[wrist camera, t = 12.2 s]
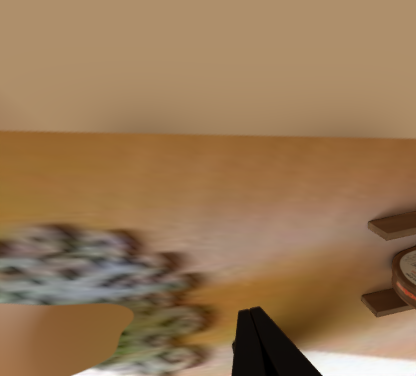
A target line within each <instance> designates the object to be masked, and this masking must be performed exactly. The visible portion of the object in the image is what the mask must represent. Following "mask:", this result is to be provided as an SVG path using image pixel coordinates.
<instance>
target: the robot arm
mask: <svg viewBox="0 0 416 376" xmlns="http://www.w3.org/2000/svg"><path fill="white" fill-rule="evenodd" d="M232 349H233V353H234V357H233V366H232V376H322V375H321V374H320V372H319V371H318V370H317V369H316V368H315V367H314V366H313V365H312V364H311V362H310V361H309V360H308V359H307V358H306V357H305V356H304V355H303V354H302V352H301V351H300V350H299V349H298V348H297V347H296V346H295V345H294V344H293V343H292V341H291V340H290V339H289V338H288V337H287V336H286V335H285V334H284V333H283V331H282V330H281V329H280V328H279V327H278V326H277V325H276V324H275V323H274V321H273V320H272V319H271V318H270V317H269V316H268V315H267V314H266V313H265V311H264V310H263V309H262V308H261V307H259V306H257V307H252V308H250V309H244V310H240V311H239V312H238V319H237V328H236V338H235V342H234V343H233V344H232Z"/></svg>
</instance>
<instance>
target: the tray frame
mask: <svg viewBox="0 0 416 376" xmlns="http://www.w3.org/2000/svg"><path fill="white" fill-rule="evenodd" d="M368 229H370V230H372V231H373V232H375V233H376V234H378V235H379V236H381V237H382V238H384V239H385V240H387V241H388V240H392V239H397V238H401V237H405V236H410V235H414V234H416V211H415V212H410V213H406V214H401V215H397V216H392V217H388V218H383V219H379V220H374V221H370V222H368ZM361 301H362V302H363V303H364V304H365V305H366V306H367V307H368V308H369V309H370V310H371V312H372V313H373V314H374V315H375V316H376V317H381V316H385V315H390V314H394V313H398V312H402V311H407V310H411V309H414V308H413V307H411V306H410V305H408V304H407V303H406V302H405V301H403V300H402V299H401V298H400V296H399V295H398V294H397V293H396V291H395V290H394V288H393V289H389V290H385V291H380V292H376V293H372V294H367V295H363V296H362V298H361Z"/></svg>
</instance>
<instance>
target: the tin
mask: <svg viewBox="0 0 416 376" xmlns="http://www.w3.org/2000/svg"><path fill="white" fill-rule="evenodd" d="M392 285H393V287H394V290H395V291H396V293H397V294H398V295H399V296H400V298H401V299H402V300H403V301H405V302H406V303H407V304H408V305H410V306H411V307H413V308H414V309H416V247H413V248H410V249H407V250H404V251H402V252H400V253H399V254H397V255H396V256H395V258H394V260H393V262H392Z"/></svg>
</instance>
